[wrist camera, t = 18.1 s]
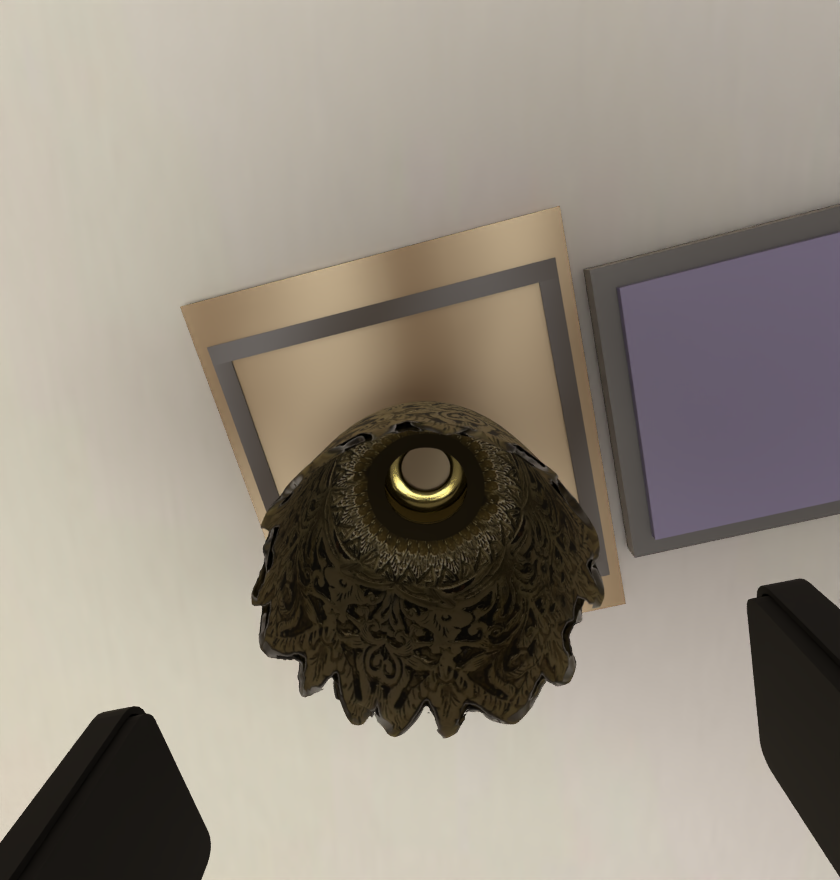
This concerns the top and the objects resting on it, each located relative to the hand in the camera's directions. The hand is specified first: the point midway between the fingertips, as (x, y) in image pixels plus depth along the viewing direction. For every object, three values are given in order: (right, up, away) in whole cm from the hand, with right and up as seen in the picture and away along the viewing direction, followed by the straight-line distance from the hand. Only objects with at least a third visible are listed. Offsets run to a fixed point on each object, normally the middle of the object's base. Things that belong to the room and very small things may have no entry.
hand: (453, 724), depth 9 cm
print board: (0, +4, +11) cm, 12 cm away
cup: (0, +3, +11) cm, 11 cm away
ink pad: (+11, +6, +10) cm, 16 cm away
